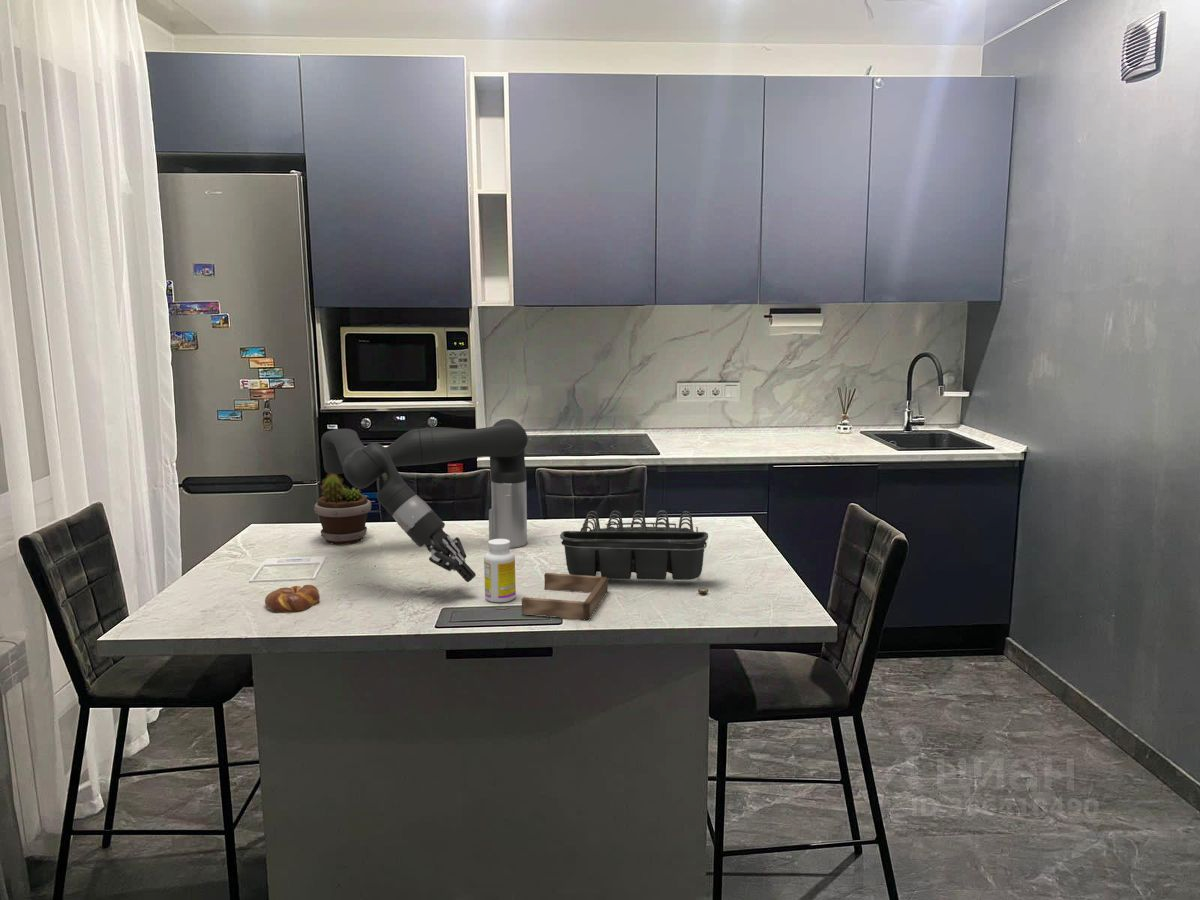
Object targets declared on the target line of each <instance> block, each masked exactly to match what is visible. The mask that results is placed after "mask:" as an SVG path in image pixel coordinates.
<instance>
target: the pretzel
mask: <svg viewBox="0 0 1200 900" xmlns="http://www.w3.org/2000/svg"><path fill="white" fill-rule="evenodd" d="M320 599H321V596H320V593H319V590H318V588H317V587H316V586H315V585H312V584H304V585H302V586H301V585H293V586H291V587H287V586H286V587H279V588H278V589H275V590H273V591H271V592H269V593H268V594H267V595H266V596H265V599H264V603H265V607H266V608H267V609H268V610H270V611H272V612H275V613H288V612H303V611H305V610H308V609H309V608H311V607H312V606H314V605H315V604H318V602H319V601H320Z"/></svg>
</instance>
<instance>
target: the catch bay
mask: <svg viewBox="0 0 1200 900" xmlns="http://www.w3.org/2000/svg"><path fill="white" fill-rule="evenodd" d="M608 580H609V579H608V577H601V575H600V576H599V575H598V576H597V575H596V576H586V575H571V574H569V573H556V572H555V573H553V572H545V573H544V590H547V589H552V590H551V591H561V590H570V591H569V592H574V591H585V592H584V593H588V592H591V593H589V594H588V596H587V597H586V599H585V600H584V601H580V600H565V599H554V598H552V599H551V598H539V597H527V596H523V597H522V598H521V615H522V614H529V615H531V614H532V615H546V616H556V617H561V618H560V619H563V618H567V619H566V620H575V619H585V620H584V621H588V620H589V619H591V618H592V617H593V615H594V613H595V612H596V610H597V609H598V607H599V606H600V604H601V603H600V602H602V601H603V600H604V598H605V597H604V596H606V595H607V594H608ZM606 593H607V594H606ZM605 594H606V595H605ZM603 597H604V598H603ZM602 599H603V600H602ZM601 600H602V601H601ZM599 603H600V604H599ZM598 605H599V606H598ZM597 606H598V607H597ZM596 608H597V609H596ZM595 609H596V610H595ZM594 611H595V612H594ZM593 612H594V613H593ZM592 614H593V615H592ZM591 616H592V617H591ZM590 617H591V618H590ZM589 621H590V620H589Z"/></svg>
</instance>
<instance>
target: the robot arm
mask: <svg viewBox="0 0 1200 900" xmlns="http://www.w3.org/2000/svg"><path fill="white" fill-rule="evenodd" d="M528 440H529V439H528V435H527V432H526V430H525V429H524V427H523V426H522V425H521V424H520V423H519V422H518V421H516V420H514V419H511V418H504V419H500V420H497V421H496V422H495V423H494V424H493V425H492V426H487V427H480V428H470V429H469V428H457V427H443V426H442V427H441V426H439V427H438V426H437V427H423V428H414V429H411V430H408V431H407V432H405V433H403V434H402V435H401V436H399V437H398V438H397V439H395V440H394V441H393V442H392V443H390V444H389V445H388V446H386V447H385V446H384V445H383V444H380V443H378V442H370V443H368V444H367V445H364V443H363V442H362V441H361V439H360V437H359V435H358V433H357V432H356V430H353V429H351V428H336V429H335V428H334V429H331V430H327V431H326V432H324V433H323V434H322V435H321V442H320V443H321V451H322V452H321V453H322V462H323V468H324V472H326V474H329V475H330V474H331V475H334V474H335V475H343V474H344V477H345V479H346V480H347V481H348V482H349V484H351V485H352V487H353V488H355V487H356V488H357V489H359V488H360V489H361V490H362V489H365V488H368V487H370V486H371V485H372V484H373V483H374V482H376V481H377V480H379V478H380V477H382V475H383V474H386V476H387V478H386V482H385V483H384V485H383V486H382V487H381V489H380V490H379V491H378V493H377V495H376V498H377V501H378V502H379V504H380V505H381V506H382V507H383V508H384V509H385V510H386V511H387V513H389V515H390V516H391V517H392V518H393V519H394V520H395V523H396V524H397V525H398V526H399V528H401V530H403V532H404V533H405V534H406V535H407V536H408V537H409V538H410V539H411V540H412V542H414V543H415V545H416V546H417V547H418V548H423V547H424V546H425V547H426V549H427V551H428V552H429V553H430V555H431V556H430V557H429V558H428V560H429V562H431V563H432V564H434V565H436V566H438V567H440V568H442V569H444V570H446V571H448V572H451V571H453V572H455V571H456V572H457V573H458V574H459V575H460V576H461V578H462V579H463V580H464V581H465V582H467V583H470V582H471V581H472V580H473V579H474V578H475V577H477V575H476V572H475V571H474V570H473V569H472V568H471V567H470V566H469V564H467V561H466V558H467V557H468V556H467V554H466V551H465V549H464V547H463V544H462V542H461V540H460V537H455V538H454V539H453V538H451V536H450V534H448V533H447V532H445V531H444V530H443V529H444V528H445V526H446V524H445V522H444V521H443V519H441V518H440V516H438V515H437V513H436V512H435V511H434V510H433V509H432V508H431V506H430V505H428V504H427V502H425V500H423V499H422V498H421V497H420V496H419V495H417V494H416V492H415V491H414V490H413V489H412V488H411V487H410V485H408V484H407V482H406V481H405V480H404V478H403V477H402V476H401V474H400V472H399V471H398V469H397V467H405V466H406V467H407V466H419V465H420V466H421V465H430V464H431V465H433V464H440V463H446V462H447V463H449V462H453V461H459V460H464V459H465V460H466V459H472V458H489V468H490V479H491V481H490V483H491V484H490V486H491V508H490V509H488V542H489V541H490V540H493V539H507V540H509V541H510V548H509V549H512V548H520V547H524V546H526V545H528V522H527V521H528V520H527V519H528V513H527V512H528V509H527V507H528V505H527V500H528V499H527V498H528V496H527V469H526V460H525V449H526V448H527V445H528ZM356 488H355V489H356ZM360 489H359V490H360Z"/></svg>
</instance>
